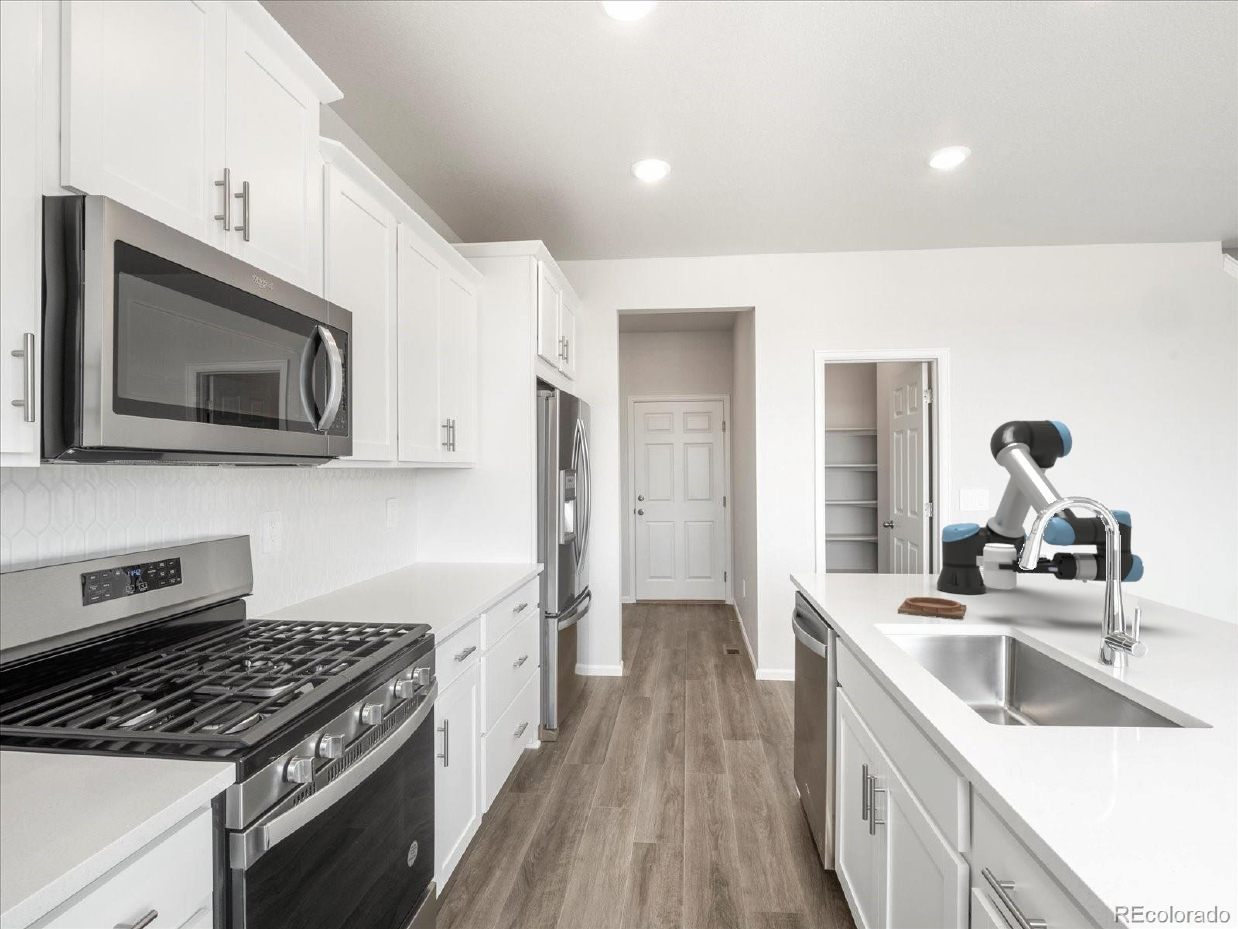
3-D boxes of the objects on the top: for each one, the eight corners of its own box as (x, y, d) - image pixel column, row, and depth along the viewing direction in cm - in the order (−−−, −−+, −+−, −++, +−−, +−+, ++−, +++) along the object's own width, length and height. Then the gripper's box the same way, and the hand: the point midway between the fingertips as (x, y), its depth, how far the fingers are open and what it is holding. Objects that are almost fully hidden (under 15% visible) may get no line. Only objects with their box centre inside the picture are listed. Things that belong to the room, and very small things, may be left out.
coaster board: (906, 603, 205) (906, 594, 205) (966, 608, 196) (966, 600, 196) (897, 613, 191) (897, 604, 191) (962, 620, 182) (962, 610, 182)
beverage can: (1007, 584, 185) (1007, 543, 185) (1022, 590, 177) (1022, 547, 177) (978, 584, 186) (978, 543, 186) (991, 589, 178) (991, 546, 178)
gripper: (1088, 587, 167) (991, 582, 173) (1058, 573, 187) (971, 570, 193) (1088, 558, 167) (991, 555, 173) (1058, 547, 187) (971, 545, 193)
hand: (980, 563), depth 183 cm, fingers closed on beverage can, 8 cm apart
